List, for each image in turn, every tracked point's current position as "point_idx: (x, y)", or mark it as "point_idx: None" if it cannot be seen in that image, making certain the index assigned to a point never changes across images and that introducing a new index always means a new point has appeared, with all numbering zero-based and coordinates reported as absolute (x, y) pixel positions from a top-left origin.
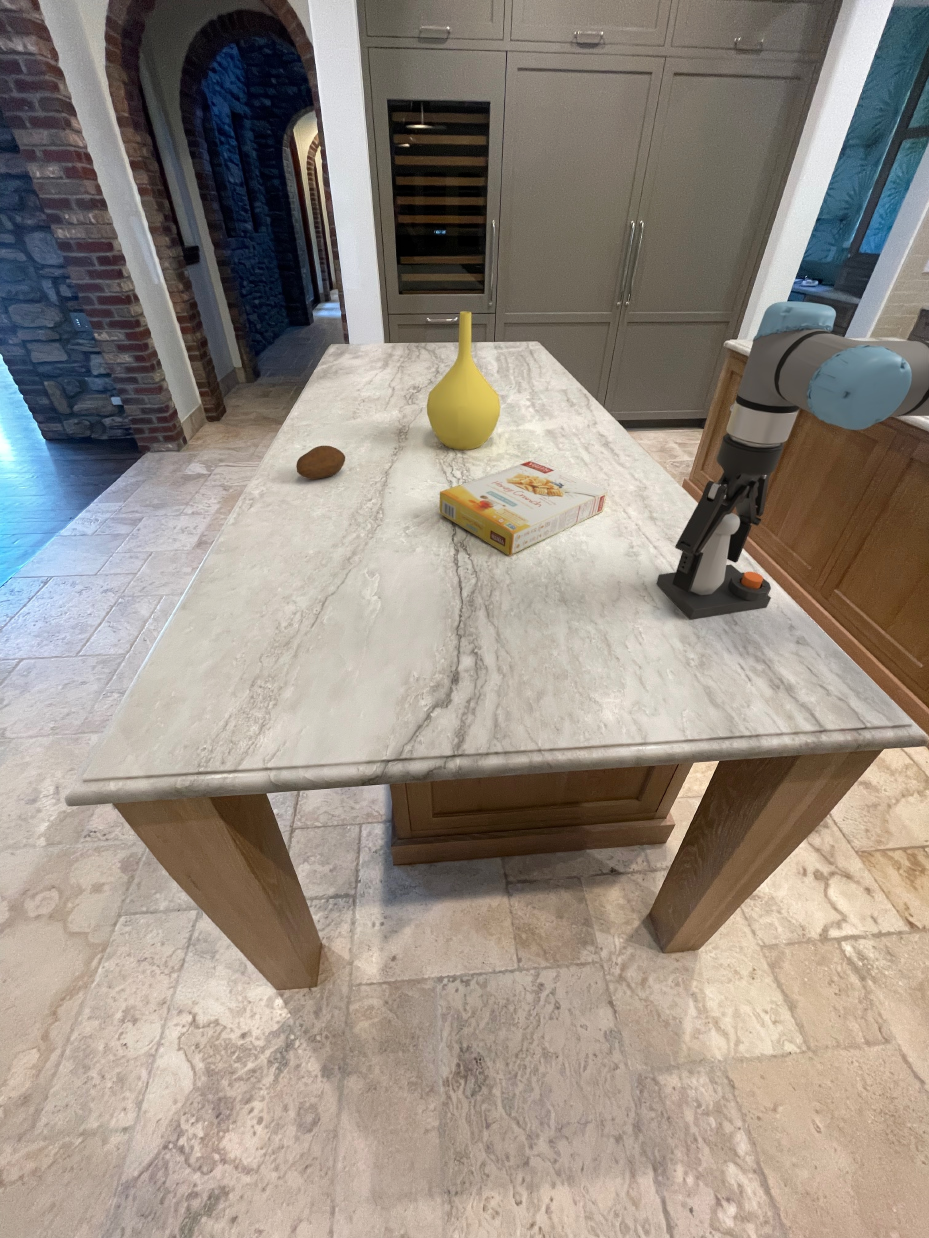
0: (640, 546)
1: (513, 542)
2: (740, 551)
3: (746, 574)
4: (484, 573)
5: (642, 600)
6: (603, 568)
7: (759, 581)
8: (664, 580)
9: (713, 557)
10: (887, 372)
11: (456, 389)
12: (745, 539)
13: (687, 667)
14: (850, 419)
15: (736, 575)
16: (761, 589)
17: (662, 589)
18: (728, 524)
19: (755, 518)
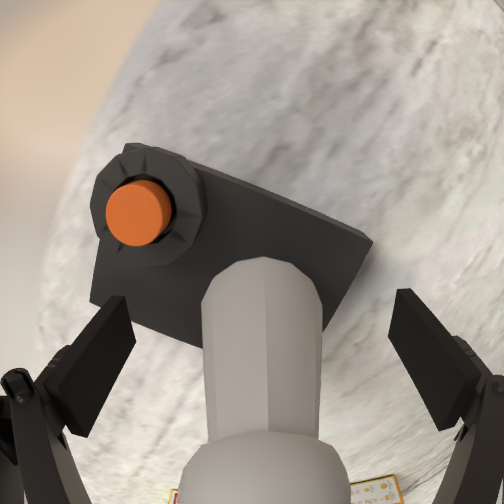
0: (194, 434)
1: (397, 491)
2: (102, 317)
3: (143, 237)
4: (444, 454)
5: (372, 337)
6: (324, 428)
7: (141, 186)
8: None
9: (315, 355)
10: None
11: None
12: (78, 346)
13: (489, 150)
14: None
15: (148, 260)
16: (147, 167)
17: None
18: (332, 498)
19: (17, 400)
